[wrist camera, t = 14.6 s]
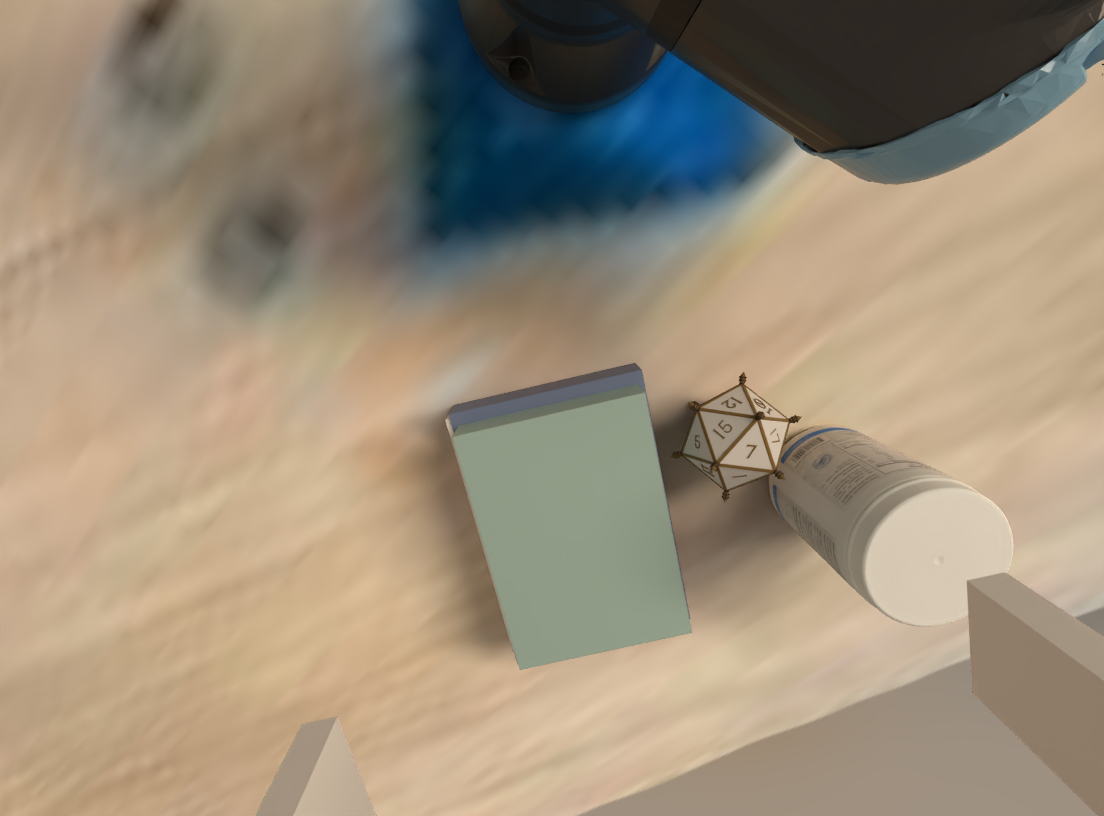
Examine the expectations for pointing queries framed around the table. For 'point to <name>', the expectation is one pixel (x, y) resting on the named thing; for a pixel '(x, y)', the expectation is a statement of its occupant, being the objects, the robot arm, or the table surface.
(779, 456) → the game die
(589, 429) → the book pile
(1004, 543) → the supplement tub
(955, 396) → the table surface
